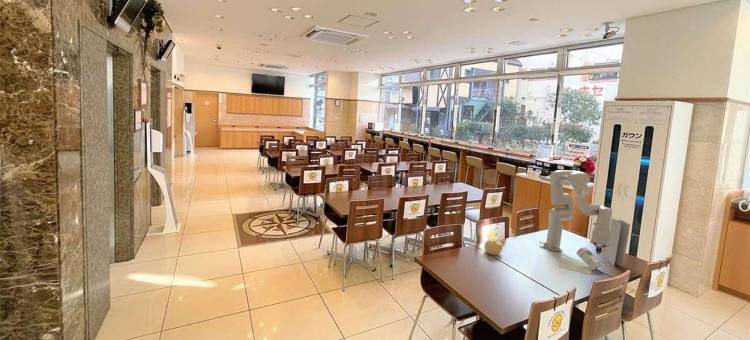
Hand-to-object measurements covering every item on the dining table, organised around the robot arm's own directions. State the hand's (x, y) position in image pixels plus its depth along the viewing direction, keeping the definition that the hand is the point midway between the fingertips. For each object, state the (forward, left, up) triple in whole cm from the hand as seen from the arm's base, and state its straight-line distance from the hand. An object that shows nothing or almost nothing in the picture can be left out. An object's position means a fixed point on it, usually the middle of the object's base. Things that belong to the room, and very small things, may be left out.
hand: (598, 253), depth 233 cm
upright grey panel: (+10, +25, -12) cm, 29 cm away
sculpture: (-62, -17, -12) cm, 66 cm away
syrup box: (+1, 0, -10) cm, 10 cm away
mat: (-11, 0, -12) cm, 16 cm away
